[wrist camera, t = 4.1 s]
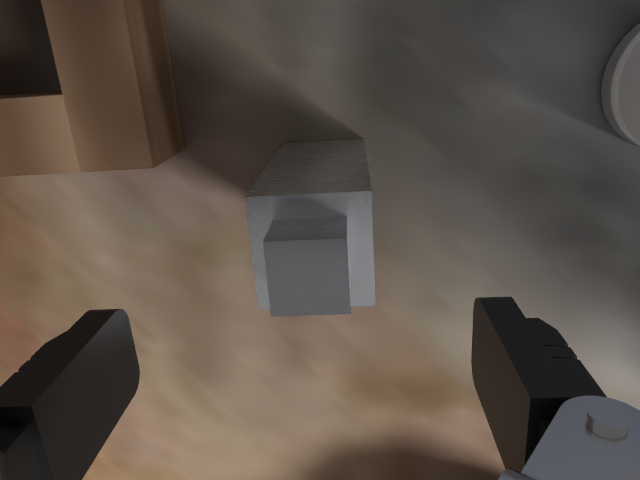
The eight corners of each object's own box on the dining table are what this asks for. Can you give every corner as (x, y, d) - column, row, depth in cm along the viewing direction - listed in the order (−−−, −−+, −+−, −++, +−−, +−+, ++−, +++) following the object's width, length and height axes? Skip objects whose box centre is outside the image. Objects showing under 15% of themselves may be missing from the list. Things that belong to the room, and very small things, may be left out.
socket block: (141, -133, 22) (91, -177, 18) (185, 148, 26) (153, 167, 22) (-123, -107, 23) (-230, -142, 19) (-40, 161, 27) (-112, 182, 23)
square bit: (363, 138, 25) (374, 209, 14) (366, 215, 27) (378, 336, 16) (282, 143, 26) (231, 216, 14) (289, 219, 27) (247, 340, 16)
